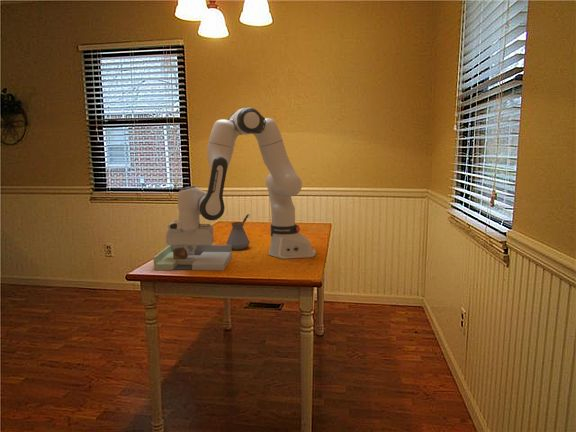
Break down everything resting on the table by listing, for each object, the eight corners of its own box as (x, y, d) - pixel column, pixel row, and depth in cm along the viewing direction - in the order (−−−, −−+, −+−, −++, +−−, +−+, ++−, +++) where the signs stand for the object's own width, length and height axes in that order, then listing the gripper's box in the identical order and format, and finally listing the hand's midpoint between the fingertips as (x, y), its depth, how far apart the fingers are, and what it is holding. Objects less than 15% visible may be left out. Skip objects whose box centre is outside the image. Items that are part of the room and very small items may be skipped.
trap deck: (231, 256, 186) (231, 244, 185) (223, 270, 165) (223, 257, 164) (170, 256, 187) (169, 244, 186) (154, 270, 166) (153, 257, 165)
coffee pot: (244, 251, 194) (243, 221, 191) (222, 250, 197) (221, 220, 194) (259, 241, 214) (258, 214, 212) (239, 240, 217) (238, 213, 215)
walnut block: (188, 256, 178) (187, 247, 177) (184, 259, 173) (184, 250, 172) (176, 256, 178) (176, 247, 177) (173, 259, 173) (172, 250, 172)
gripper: (214, 222, 175) (215, 253, 178) (168, 222, 176) (170, 252, 178) (211, 225, 169) (212, 257, 171) (163, 225, 169) (165, 256, 172)
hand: (190, 254), depth 175 cm, fingers closed
